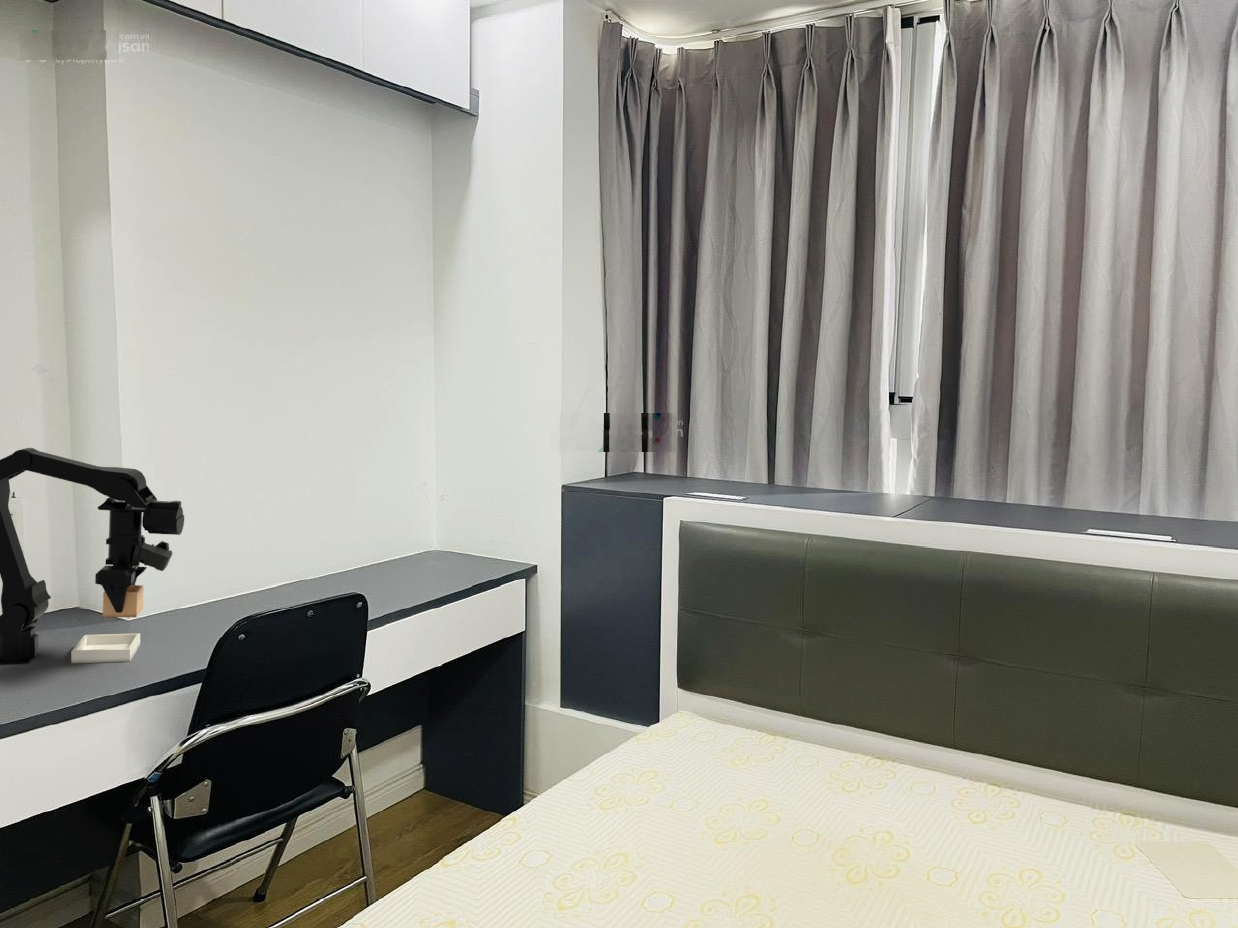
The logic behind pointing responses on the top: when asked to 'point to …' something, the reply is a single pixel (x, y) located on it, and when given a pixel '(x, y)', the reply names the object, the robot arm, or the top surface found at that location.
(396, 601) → the top surface
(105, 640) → the cream square tray
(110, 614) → the small crate
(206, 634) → the top surface
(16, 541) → the robot arm
